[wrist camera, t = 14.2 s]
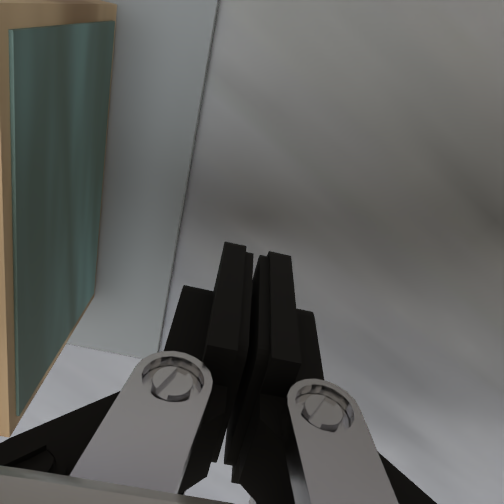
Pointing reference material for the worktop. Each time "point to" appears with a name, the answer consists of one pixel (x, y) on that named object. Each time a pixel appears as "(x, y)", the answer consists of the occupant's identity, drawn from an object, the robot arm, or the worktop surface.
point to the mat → (146, 168)
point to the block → (49, 181)
